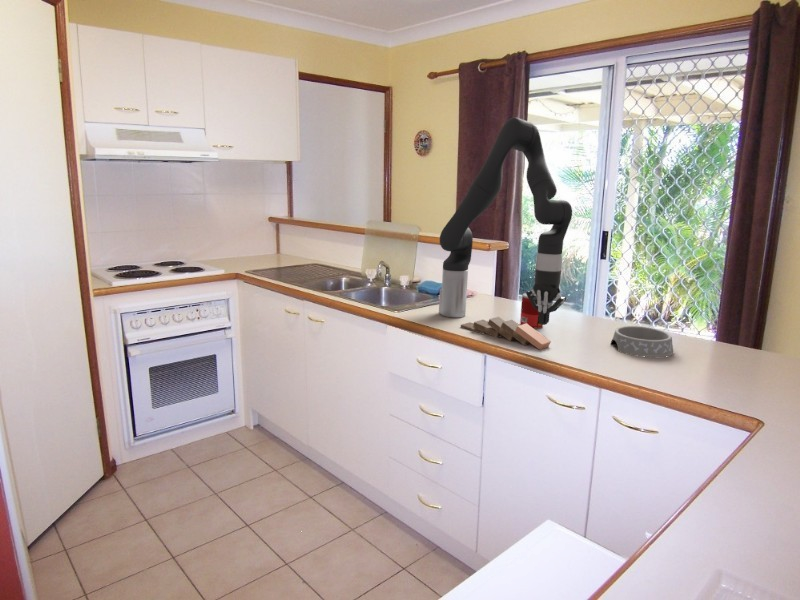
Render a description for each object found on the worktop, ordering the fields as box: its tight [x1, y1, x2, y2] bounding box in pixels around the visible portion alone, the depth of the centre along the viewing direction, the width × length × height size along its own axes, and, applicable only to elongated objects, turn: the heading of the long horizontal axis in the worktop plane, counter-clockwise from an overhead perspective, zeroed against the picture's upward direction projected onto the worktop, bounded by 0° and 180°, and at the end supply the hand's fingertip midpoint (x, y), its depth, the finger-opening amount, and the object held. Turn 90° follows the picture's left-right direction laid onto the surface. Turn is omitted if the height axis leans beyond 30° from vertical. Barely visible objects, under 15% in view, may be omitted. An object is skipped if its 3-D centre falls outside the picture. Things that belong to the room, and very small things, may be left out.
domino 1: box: [460, 321, 486, 335], centre depth 185 cm, size 2×5×10 cm
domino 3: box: [487, 316, 517, 342], centre depth 177 cm, size 2×5×10 cm
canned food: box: [519, 292, 544, 329], centre depth 190 cm, size 8×8×11 cm
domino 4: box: [501, 319, 531, 346], centre depth 173 cm, size 2×5×10 cm
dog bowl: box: [610, 325, 674, 358], centre depth 169 cm, size 17×18×5 cm
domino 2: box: [473, 319, 503, 338], centre depth 181 cm, size 2×5×10 cm
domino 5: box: [515, 323, 552, 350], centre depth 169 cm, size 2×5×10 cm
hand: (543, 324), depth 166 cm, fingers closed
